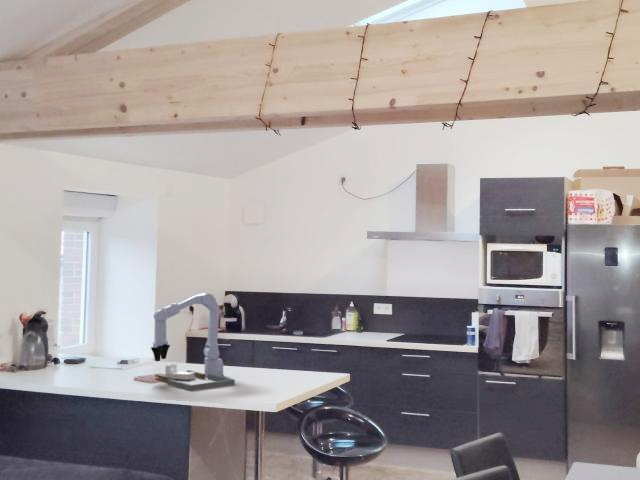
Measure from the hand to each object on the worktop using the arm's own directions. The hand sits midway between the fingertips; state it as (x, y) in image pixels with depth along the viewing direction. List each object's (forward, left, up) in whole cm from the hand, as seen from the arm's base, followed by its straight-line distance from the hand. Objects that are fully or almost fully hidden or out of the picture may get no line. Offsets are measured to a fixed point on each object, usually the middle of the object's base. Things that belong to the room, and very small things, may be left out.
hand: (160, 359), depth 392 cm
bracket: (-9, +4, -11) cm, 15 cm away
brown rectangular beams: (-9, +5, -10) cm, 14 cm away
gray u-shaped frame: (-9, +25, -10) cm, 28 cm away
